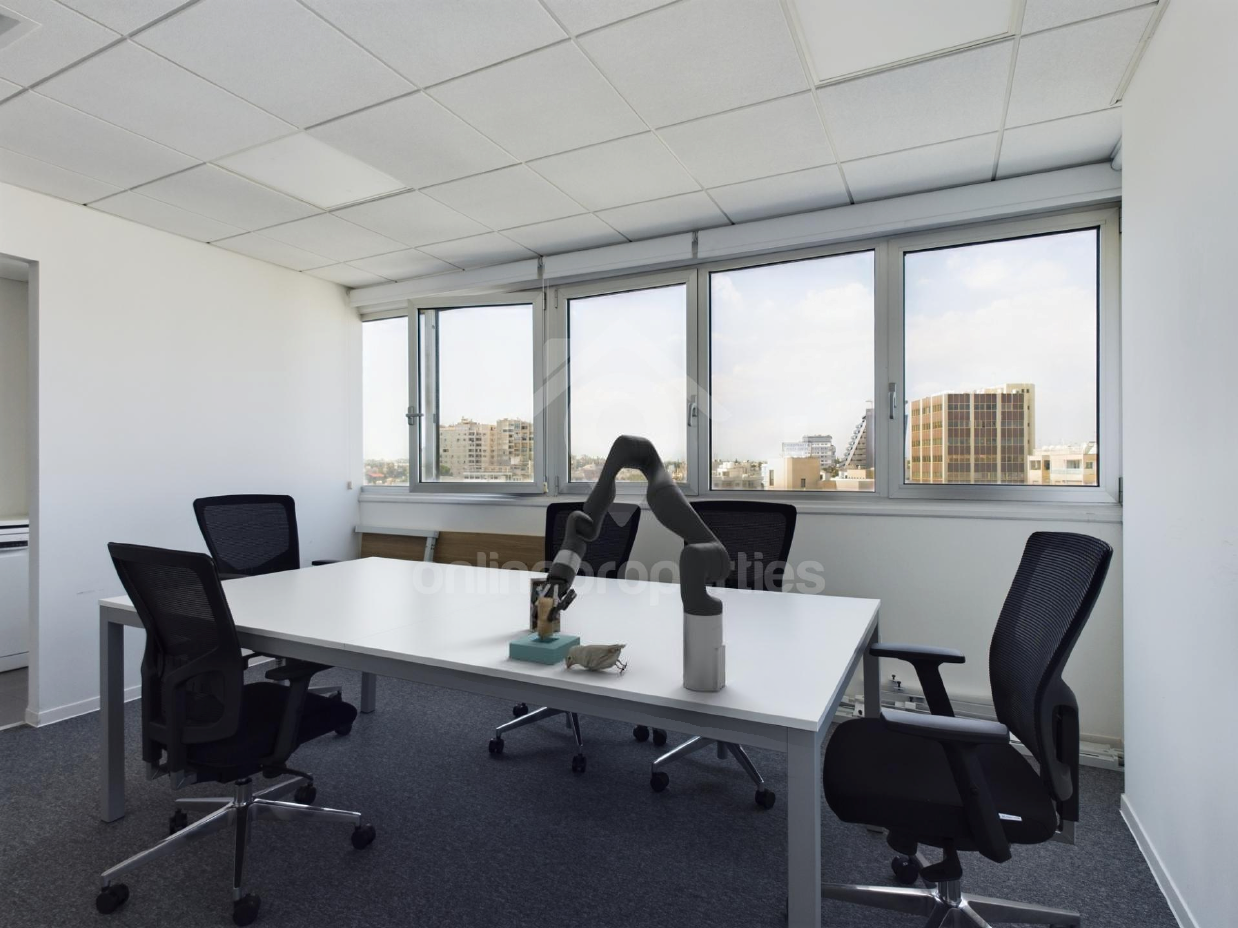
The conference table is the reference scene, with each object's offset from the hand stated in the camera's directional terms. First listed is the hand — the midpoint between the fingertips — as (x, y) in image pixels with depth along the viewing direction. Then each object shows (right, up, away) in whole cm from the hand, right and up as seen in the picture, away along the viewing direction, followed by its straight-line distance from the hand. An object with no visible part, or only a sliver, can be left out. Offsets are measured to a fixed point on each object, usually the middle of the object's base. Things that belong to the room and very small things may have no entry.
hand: (541, 619), depth 176 cm
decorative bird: (+15, -10, -12) cm, 22 cm away
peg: (+1, -5, +2) cm, 5 cm away
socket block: (+1, -10, +2) cm, 10 cm away
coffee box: (-2, -10, +30) cm, 32 cm away
